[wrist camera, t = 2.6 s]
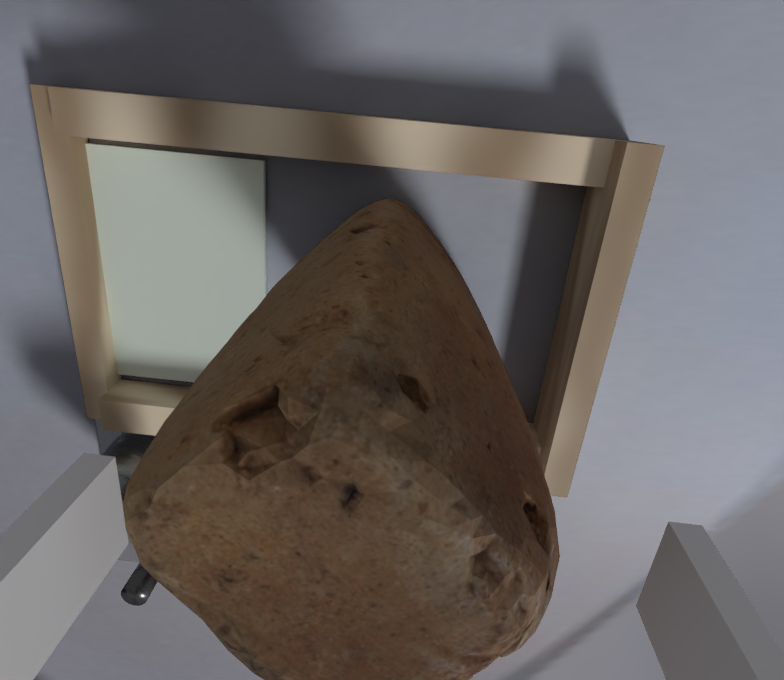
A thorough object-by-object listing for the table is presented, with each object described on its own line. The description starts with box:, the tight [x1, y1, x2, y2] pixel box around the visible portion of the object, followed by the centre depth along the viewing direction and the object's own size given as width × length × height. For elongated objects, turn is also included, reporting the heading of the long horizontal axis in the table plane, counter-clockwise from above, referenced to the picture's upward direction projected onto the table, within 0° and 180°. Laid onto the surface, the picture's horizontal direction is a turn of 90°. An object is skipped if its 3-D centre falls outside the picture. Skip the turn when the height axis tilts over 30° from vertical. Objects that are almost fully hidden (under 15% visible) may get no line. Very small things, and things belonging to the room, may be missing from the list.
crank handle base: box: [95, 419, 158, 605], centre depth 29 cm, size 8×6×11 cm
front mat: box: [85, 143, 267, 382], centre depth 29 cm, size 9×13×1 cm
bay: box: [30, 84, 665, 497], centre depth 27 cm, size 28×18×4 cm, turn 85°
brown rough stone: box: [123, 199, 560, 680], centre depth 20 cm, size 11×8×20 cm
